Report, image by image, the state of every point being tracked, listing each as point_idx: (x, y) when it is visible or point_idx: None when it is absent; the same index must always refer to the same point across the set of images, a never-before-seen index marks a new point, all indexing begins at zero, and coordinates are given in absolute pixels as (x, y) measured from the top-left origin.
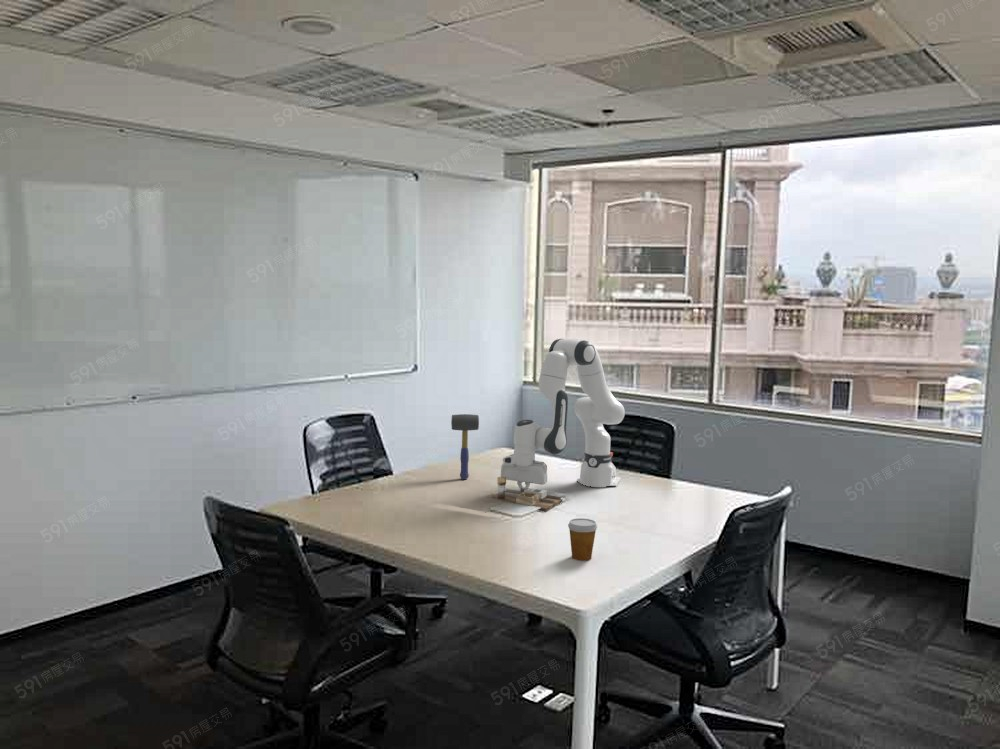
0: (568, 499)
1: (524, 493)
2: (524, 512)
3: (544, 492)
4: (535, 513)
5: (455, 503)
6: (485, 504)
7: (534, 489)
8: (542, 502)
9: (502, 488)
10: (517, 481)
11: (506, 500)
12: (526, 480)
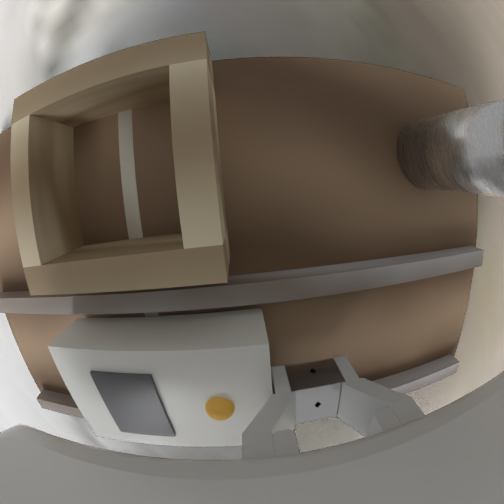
0: (86, 440)
1: (183, 228)
2: (92, 28)
3: (78, 397)
4: (31, 69)
5: (499, 40)
6: (429, 48)
7: (193, 429)
8: None
9: (476, 110)
10: (422, 417)
11: (347, 97)
12: (258, 484)
